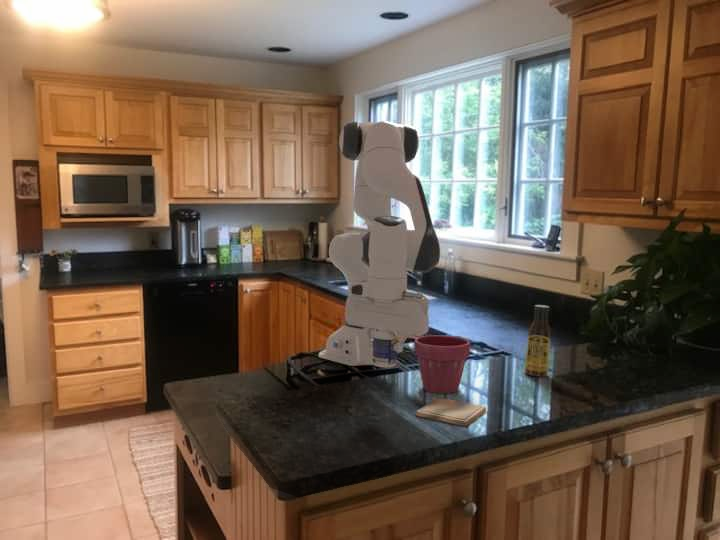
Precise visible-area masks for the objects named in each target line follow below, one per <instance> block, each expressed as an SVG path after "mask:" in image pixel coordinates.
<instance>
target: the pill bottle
mask: <svg viewBox="0 0 720 540" xmlns="http://www.w3.org/2000/svg"><path fill="white" fill-rule="evenodd" d="M396 343H398V333H395V332H390V331H386V329H385V325H384V324H379V326H378V331H376V332H375V333H374V337H373V364H374V365H373V366H375V367H378V368H393V367H395V366H396V365H397V353H398V352H394V351H393V349H394V344H396Z"/></svg>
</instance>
